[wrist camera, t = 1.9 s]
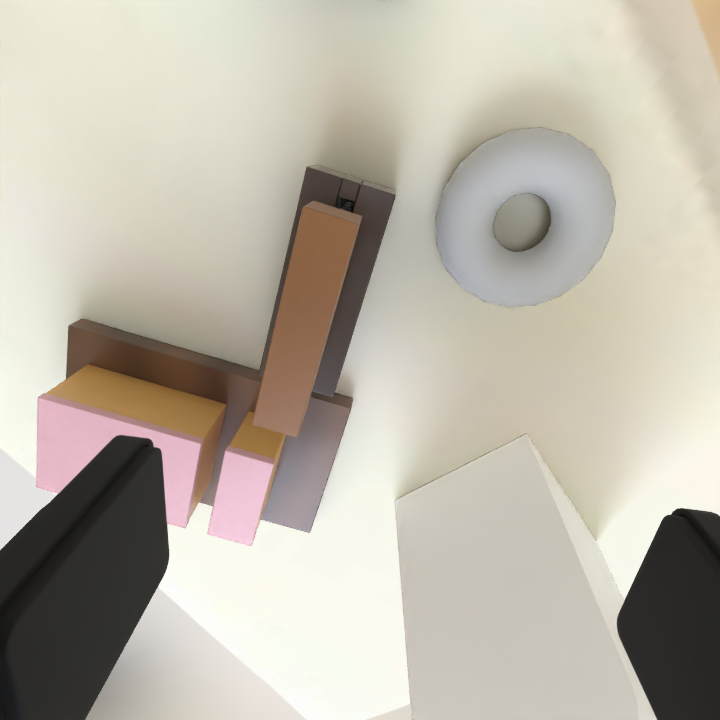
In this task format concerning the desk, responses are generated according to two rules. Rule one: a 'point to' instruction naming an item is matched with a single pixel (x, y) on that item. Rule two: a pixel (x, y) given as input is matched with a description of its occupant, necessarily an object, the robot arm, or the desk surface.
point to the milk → (509, 599)
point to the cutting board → (226, 411)
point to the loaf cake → (128, 432)
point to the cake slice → (245, 482)
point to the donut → (515, 176)
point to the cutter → (305, 314)
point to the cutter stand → (375, 214)
